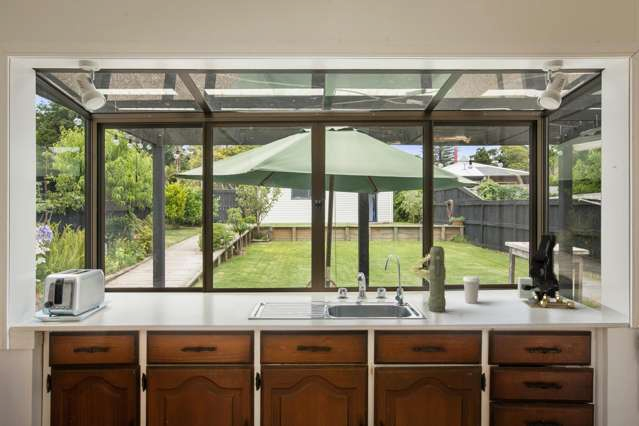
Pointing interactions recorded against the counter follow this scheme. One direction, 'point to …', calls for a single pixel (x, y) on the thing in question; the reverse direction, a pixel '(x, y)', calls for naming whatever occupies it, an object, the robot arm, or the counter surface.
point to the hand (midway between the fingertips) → (539, 302)
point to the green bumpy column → (437, 280)
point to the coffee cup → (471, 289)
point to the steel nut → (532, 301)
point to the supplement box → (522, 292)
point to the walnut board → (551, 305)
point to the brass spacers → (558, 300)
